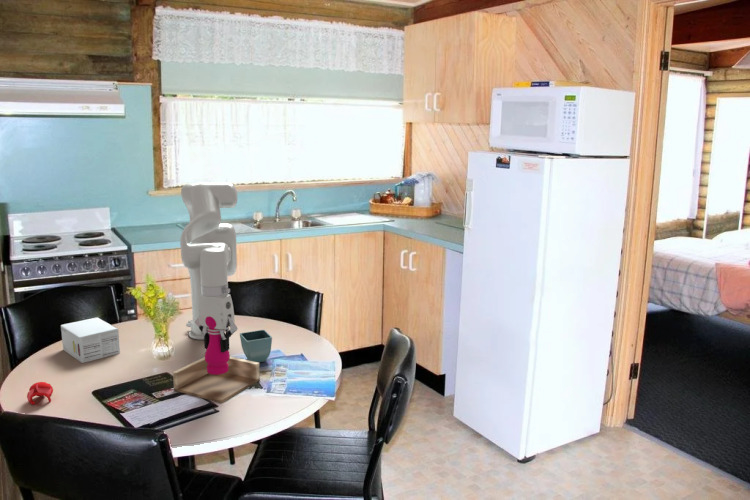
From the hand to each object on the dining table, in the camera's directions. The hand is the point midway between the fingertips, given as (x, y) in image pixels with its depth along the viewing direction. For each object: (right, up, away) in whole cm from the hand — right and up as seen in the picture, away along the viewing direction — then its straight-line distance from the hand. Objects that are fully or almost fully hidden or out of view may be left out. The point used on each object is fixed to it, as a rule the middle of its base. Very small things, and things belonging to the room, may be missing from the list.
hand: (217, 348), depth 186 cm
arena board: (-1, -12, +5) cm, 13 cm away
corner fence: (-1, -12, +5) cm, 13 cm away
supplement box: (-51, -6, +31) cm, 61 cm away
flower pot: (+7, -8, +25) cm, 28 cm away
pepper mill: (0, -7, +1) cm, 7 cm away
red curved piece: (-48, -14, -7) cm, 51 cm away
